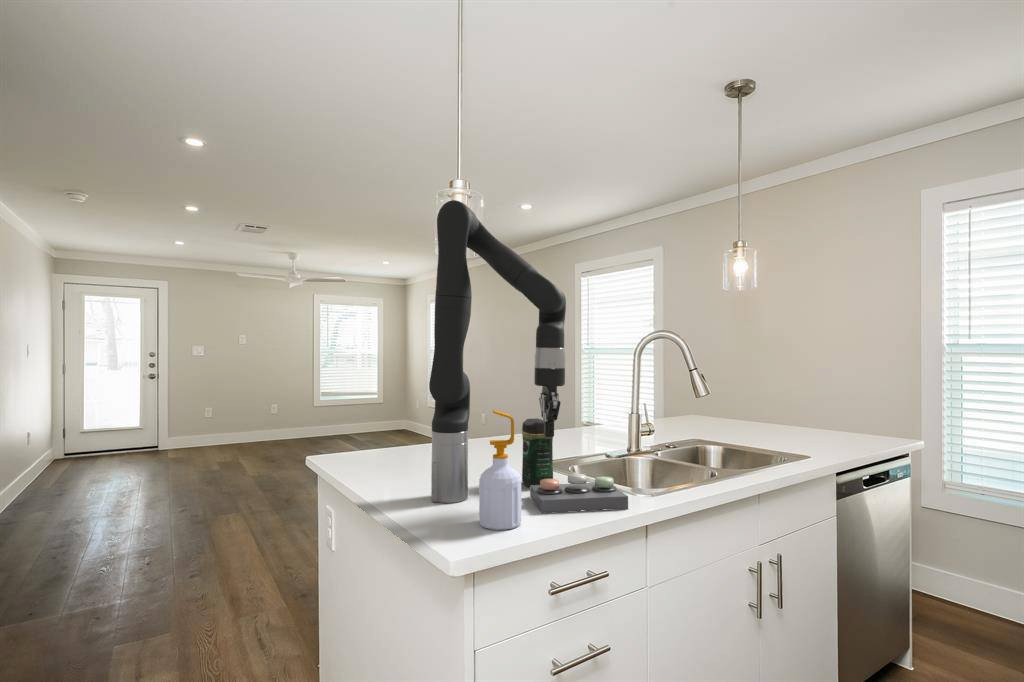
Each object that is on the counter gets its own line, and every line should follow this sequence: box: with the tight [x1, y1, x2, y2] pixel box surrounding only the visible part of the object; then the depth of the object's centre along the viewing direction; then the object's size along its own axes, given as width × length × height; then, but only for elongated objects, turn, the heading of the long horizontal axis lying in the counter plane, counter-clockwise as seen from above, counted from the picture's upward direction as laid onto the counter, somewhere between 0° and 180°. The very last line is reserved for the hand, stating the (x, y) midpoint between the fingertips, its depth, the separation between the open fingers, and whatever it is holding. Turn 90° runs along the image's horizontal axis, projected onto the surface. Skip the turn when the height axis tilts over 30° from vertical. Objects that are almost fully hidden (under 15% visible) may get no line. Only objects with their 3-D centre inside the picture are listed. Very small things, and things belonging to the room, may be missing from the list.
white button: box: [567, 473, 588, 484], centre depth 130 cm, size 5×5×2 cm
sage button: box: [594, 476, 615, 487], centre depth 131 cm, size 5×5×2 cm
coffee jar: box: [521, 417, 554, 488], centre depth 148 cm, size 10×8×19 cm
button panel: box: [529, 482, 629, 514], centre depth 130 cm, size 21×14×4 cm, turn 99°
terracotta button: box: [540, 478, 560, 490], centre depth 129 cm, size 5×5×2 cm
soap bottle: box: [478, 409, 522, 531], centre depth 114 cm, size 9×9×25 cm
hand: (549, 436), depth 130 cm, fingers closed
